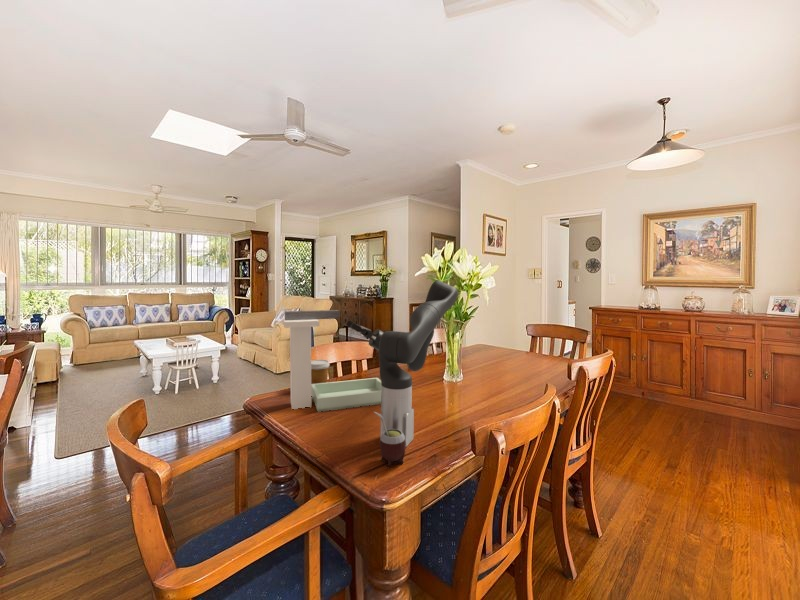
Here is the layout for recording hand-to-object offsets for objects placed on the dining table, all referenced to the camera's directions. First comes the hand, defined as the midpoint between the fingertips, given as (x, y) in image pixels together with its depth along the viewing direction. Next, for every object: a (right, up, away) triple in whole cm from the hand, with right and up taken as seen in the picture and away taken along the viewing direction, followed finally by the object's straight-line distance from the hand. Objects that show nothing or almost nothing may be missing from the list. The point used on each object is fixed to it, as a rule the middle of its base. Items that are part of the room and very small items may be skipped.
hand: (349, 323), depth 138 cm
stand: (-18, -31, -5) cm, 36 cm away
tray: (0, -31, +2) cm, 31 cm away
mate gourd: (+18, -34, -45) cm, 59 cm away
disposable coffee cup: (-15, -30, +14) cm, 36 cm away
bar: (-13, +2, -5) cm, 14 cm away
